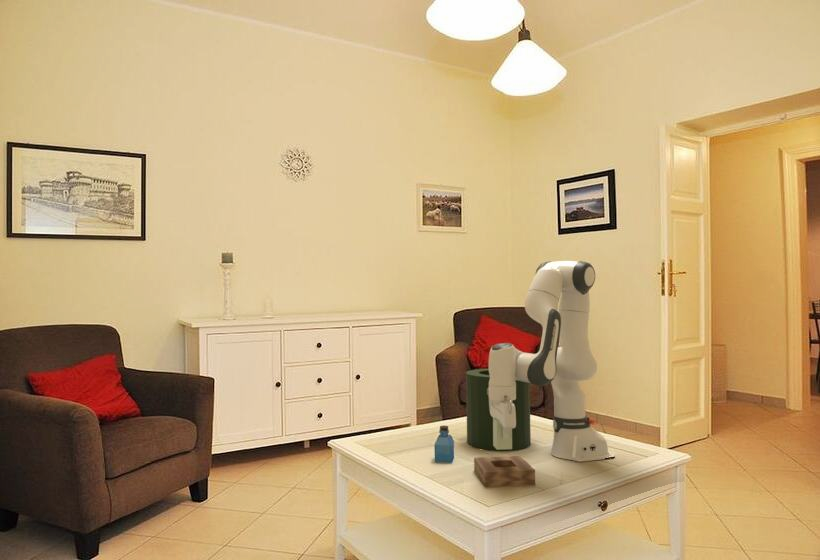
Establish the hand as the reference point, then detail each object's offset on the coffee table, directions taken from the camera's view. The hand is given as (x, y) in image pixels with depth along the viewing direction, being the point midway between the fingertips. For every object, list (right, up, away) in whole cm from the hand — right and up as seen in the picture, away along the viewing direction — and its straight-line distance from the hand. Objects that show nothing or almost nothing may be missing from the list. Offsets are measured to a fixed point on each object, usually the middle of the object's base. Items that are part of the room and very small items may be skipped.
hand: (502, 436), depth 185 cm
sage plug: (0, -4, 0) cm, 4 cm away
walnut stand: (0, -13, 0) cm, 13 cm away
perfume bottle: (-18, -14, +20) cm, 30 cm away
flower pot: (+5, -15, +43) cm, 45 cm away
